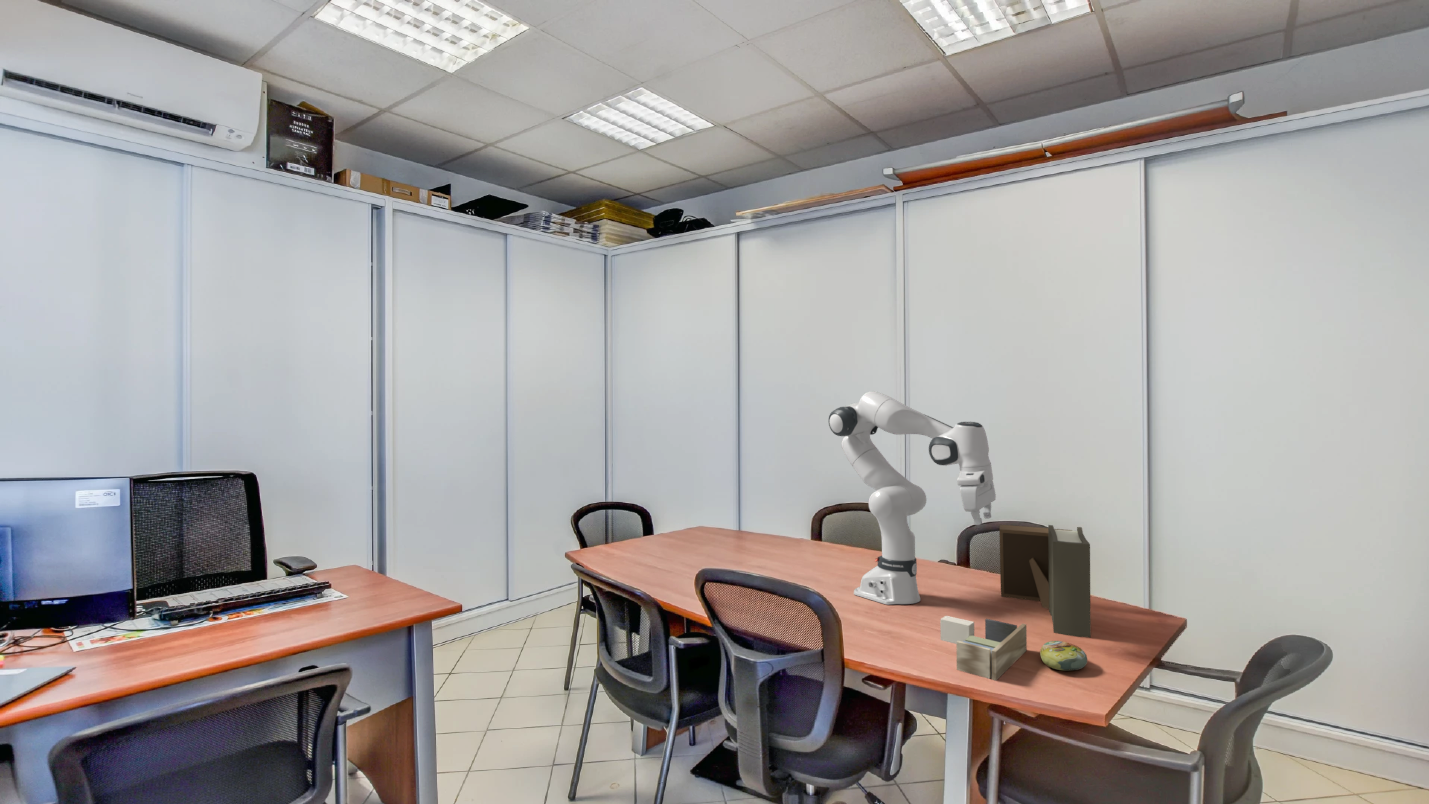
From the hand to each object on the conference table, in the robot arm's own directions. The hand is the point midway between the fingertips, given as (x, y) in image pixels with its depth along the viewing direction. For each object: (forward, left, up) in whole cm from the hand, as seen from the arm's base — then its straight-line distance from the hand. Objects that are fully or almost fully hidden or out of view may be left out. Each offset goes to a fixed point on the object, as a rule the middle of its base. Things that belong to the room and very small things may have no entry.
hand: (983, 521), depth 186 cm
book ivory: (-2, -16, -32) cm, 36 cm away
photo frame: (+5, +35, -32) cm, 47 cm away
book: (+18, +20, -32) cm, 42 cm away
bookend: (+9, -10, -32) cm, 35 cm away
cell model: (+24, -14, -32) cm, 42 cm away
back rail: (+9, -23, -32) cm, 40 cm away
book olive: (+9, -27, -32) cm, 43 cm away
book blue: (+9, -32, -32) cm, 46 cm away
